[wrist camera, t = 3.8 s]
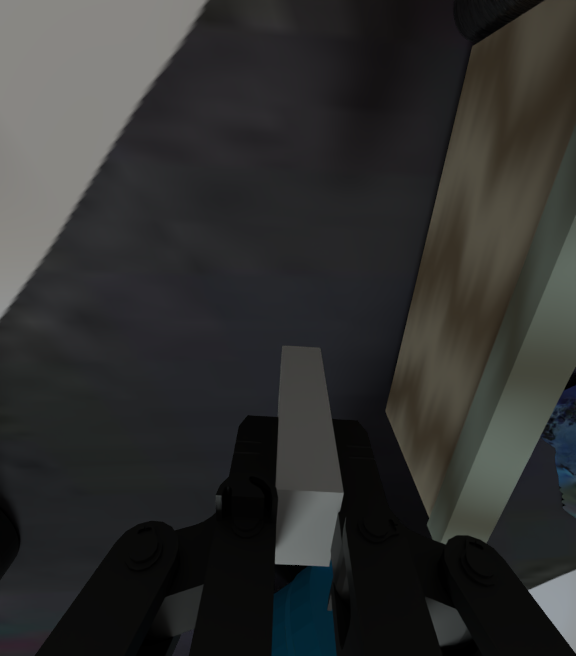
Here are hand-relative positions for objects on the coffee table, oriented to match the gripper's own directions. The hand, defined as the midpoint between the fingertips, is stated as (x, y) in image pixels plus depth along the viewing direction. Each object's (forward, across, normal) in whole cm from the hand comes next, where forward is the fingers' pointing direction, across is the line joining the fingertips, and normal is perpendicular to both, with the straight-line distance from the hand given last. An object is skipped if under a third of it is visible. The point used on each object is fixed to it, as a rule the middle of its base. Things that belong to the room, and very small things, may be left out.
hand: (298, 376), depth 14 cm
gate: (+7, +8, +3) cm, 11 cm away
